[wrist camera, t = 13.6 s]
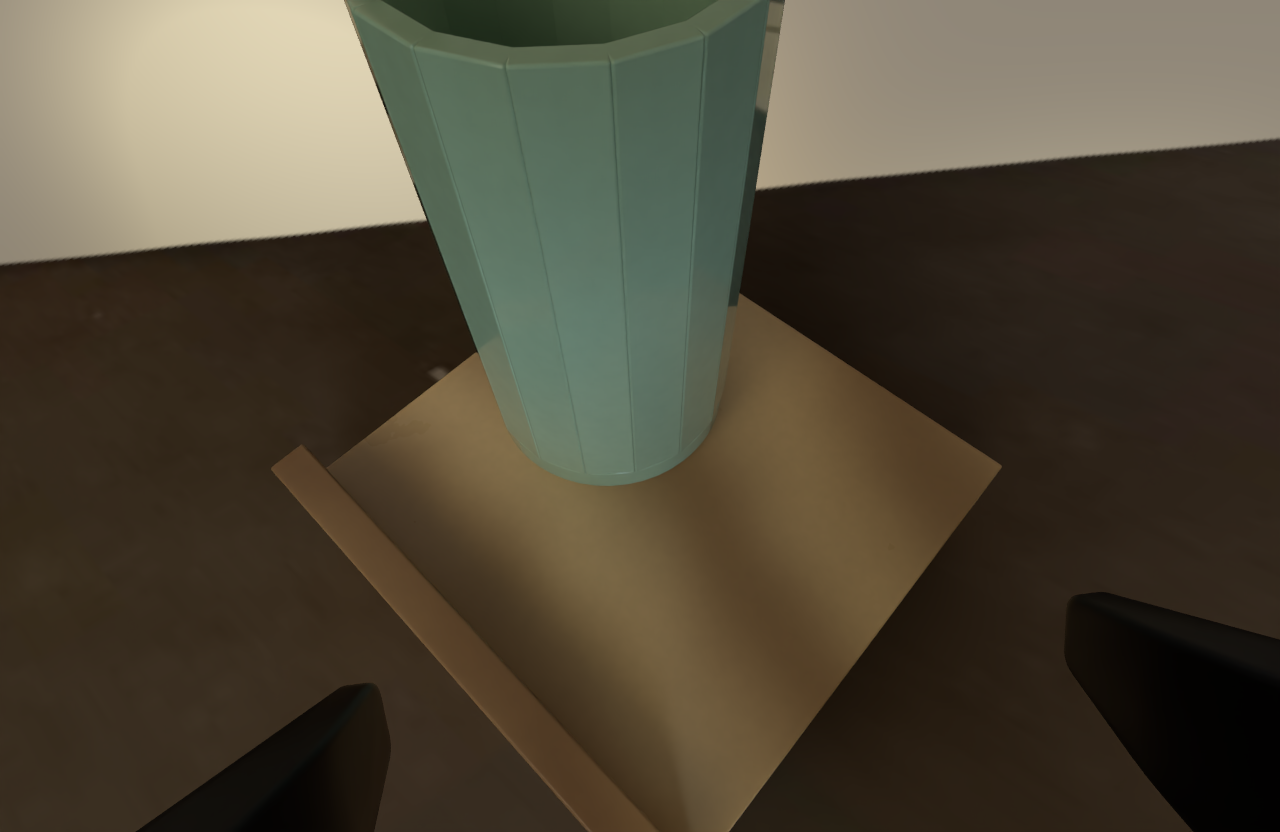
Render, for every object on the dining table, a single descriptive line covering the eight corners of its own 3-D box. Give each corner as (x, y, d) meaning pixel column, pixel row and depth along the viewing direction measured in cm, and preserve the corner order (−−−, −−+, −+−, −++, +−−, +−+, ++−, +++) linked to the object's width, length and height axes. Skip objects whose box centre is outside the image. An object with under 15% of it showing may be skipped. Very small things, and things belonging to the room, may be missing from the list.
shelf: (664, 898, 17) (667, 923, 13) (349, 542, 23) (268, 467, 18) (950, 520, 23) (1028, 439, 18) (640, 300, 28) (637, 192, 23)
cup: (612, 534, 18) (555, 136, 8) (453, 392, 21) (245, -56, 10) (766, 379, 21) (880, -82, 10) (608, 269, 23) (568, -195, 13)
